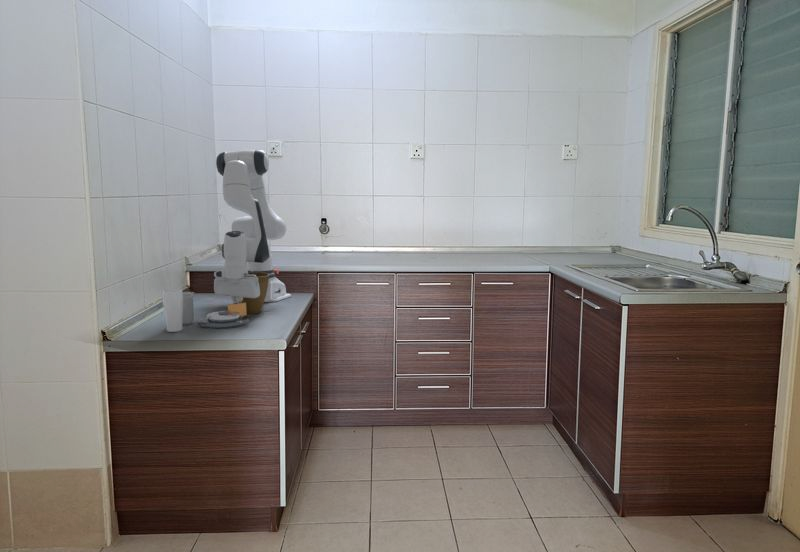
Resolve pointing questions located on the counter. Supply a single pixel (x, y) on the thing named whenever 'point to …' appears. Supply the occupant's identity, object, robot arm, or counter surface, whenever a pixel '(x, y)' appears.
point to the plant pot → (257, 303)
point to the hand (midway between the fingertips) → (237, 307)
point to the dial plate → (212, 325)
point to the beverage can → (187, 309)
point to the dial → (228, 313)
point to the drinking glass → (173, 309)
